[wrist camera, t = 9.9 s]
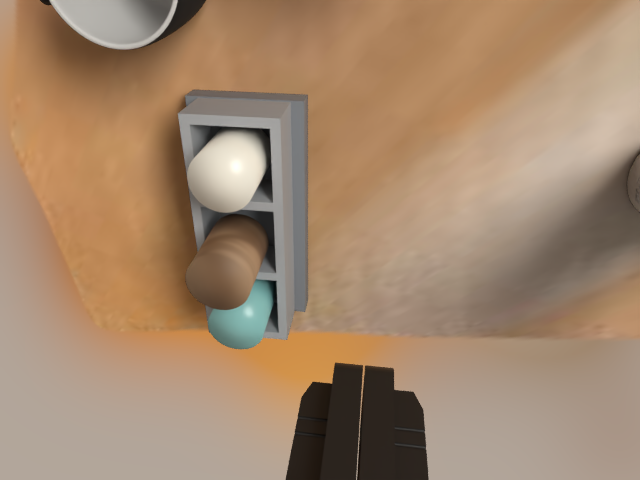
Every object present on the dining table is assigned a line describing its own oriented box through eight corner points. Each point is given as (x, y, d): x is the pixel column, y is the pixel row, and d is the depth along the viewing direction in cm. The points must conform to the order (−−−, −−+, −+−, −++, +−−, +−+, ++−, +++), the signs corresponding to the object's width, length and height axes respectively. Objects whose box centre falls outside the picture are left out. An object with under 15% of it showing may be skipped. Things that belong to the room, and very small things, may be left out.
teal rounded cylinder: (277, 265, 46) (262, 308, 41) (278, 305, 49) (265, 351, 43) (226, 261, 47) (205, 303, 41) (230, 301, 49) (211, 346, 44)
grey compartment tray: (307, 94, 41) (295, 118, 35) (307, 299, 52) (298, 341, 47) (193, 89, 42) (163, 111, 36) (218, 292, 53) (198, 332, 48)
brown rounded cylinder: (267, 215, 40) (248, 258, 35) (269, 265, 43) (252, 312, 37) (209, 211, 41) (181, 253, 35) (215, 261, 43) (189, 307, 38)
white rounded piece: (271, 122, 39) (252, 151, 33) (273, 179, 42) (256, 214, 36) (211, 119, 39) (182, 147, 34) (217, 175, 42) (191, 210, 37)
